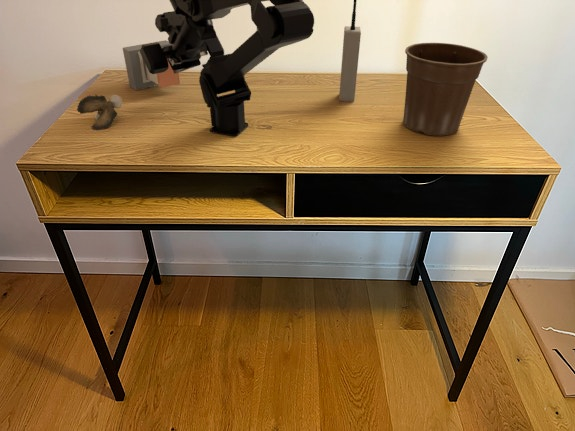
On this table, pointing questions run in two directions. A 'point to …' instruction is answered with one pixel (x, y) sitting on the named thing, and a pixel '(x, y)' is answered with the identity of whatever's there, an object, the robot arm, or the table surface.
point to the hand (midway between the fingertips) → (174, 71)
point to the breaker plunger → (163, 77)
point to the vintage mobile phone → (350, 60)
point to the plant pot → (439, 85)
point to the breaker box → (138, 66)
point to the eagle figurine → (100, 109)
